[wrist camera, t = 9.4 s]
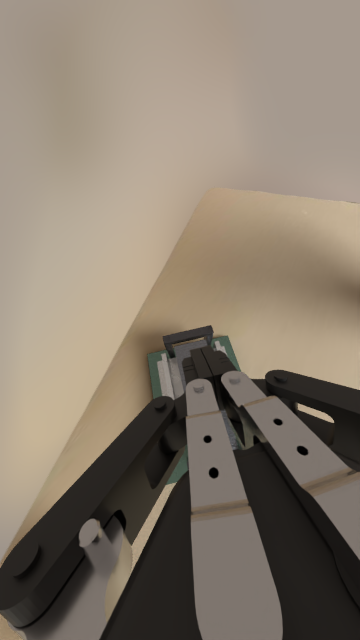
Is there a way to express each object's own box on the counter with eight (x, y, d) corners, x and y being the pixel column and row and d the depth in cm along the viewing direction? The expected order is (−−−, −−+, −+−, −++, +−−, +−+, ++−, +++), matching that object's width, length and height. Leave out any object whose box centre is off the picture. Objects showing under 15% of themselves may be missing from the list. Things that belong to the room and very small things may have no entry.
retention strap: (243, 464, 17) (205, 338, 23) (201, 475, 17) (173, 346, 22) (239, 460, 18) (205, 342, 24) (201, 470, 18) (175, 349, 24)
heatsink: (269, 455, 23) (301, 471, 16) (166, 482, 22) (153, 510, 15) (226, 337, 30) (235, 315, 23) (148, 356, 30) (135, 338, 23)
